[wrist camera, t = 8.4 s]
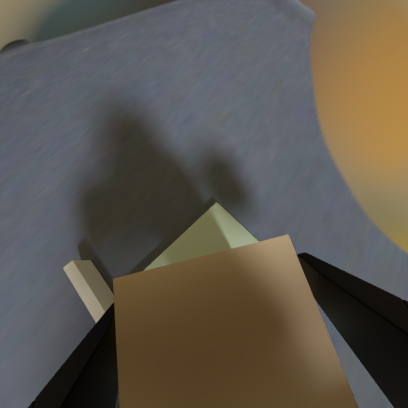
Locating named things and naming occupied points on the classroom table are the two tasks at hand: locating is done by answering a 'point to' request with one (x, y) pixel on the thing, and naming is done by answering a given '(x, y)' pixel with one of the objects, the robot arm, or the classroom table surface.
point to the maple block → (226, 334)
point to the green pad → (206, 238)
